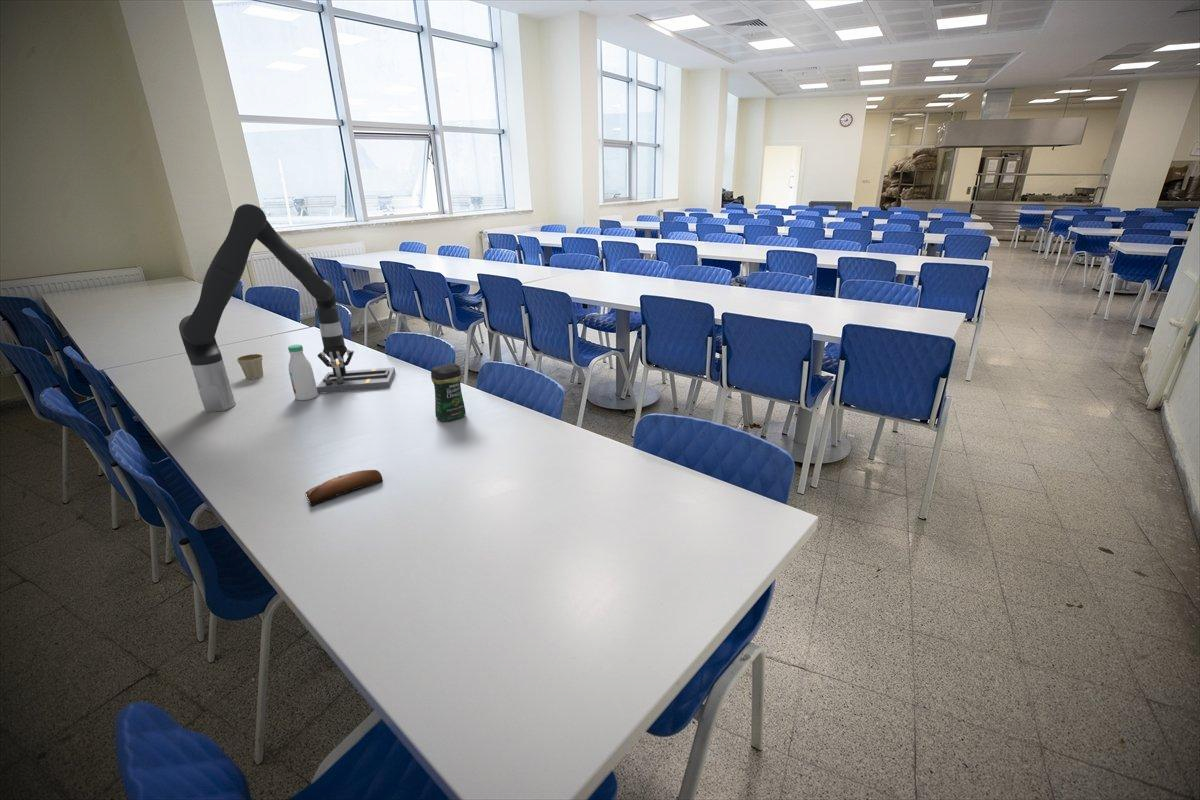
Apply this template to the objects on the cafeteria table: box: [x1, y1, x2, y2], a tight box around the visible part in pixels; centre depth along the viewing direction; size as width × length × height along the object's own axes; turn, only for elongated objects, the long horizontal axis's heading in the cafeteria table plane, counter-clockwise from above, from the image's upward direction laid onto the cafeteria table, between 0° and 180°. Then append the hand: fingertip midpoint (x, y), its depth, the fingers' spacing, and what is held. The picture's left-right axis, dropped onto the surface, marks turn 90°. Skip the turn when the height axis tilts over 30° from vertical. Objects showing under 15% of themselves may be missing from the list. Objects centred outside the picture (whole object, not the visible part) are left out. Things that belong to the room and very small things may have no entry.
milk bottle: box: [287, 344, 319, 401], centre depth 197 cm, size 8×8×20 cm
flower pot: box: [235, 353, 264, 380], centre depth 221 cm, size 9×9×9 cm
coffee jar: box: [430, 362, 467, 422], centre depth 179 cm, size 10×8×19 cm
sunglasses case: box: [304, 469, 384, 506], centre depth 140 cm, size 18×7×7 cm
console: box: [316, 367, 396, 394], centre depth 214 cm, size 18×26×4 cm
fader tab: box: [334, 360, 344, 378], centre depth 212 cm, size 4×2×6 cm, turn 12°
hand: (340, 375), depth 212 cm, fingers closed on fader tab
